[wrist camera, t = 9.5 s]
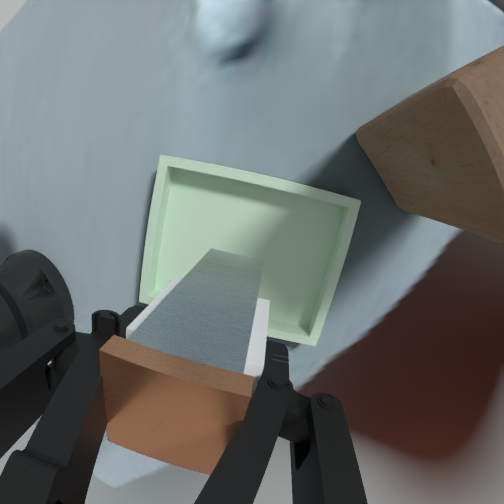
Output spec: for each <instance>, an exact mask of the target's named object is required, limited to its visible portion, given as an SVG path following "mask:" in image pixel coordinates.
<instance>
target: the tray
mask: <svg viewBox="0 0 504 504" xmlns="http://www.w3.org/2000/svg"><path fill="white" fill-rule="evenodd" d="M360 204H361V200H357V199H354V198H350V197H347V196H343V195H340V194H336V193H333V192H329V191H326V190H322V189H318V188H314V187H311V186H307V185H303V184H299V183H295V182H291V181H287V180H283V179H279V178H275V177H270V176H266V175H262V174H257V173H253V172H248V171H244V170H239V169H235V168H230V167H225V166H220V165H215V164H210V163H205V162H200V161H194V160H189V159H183V158H177V157H172V156H166V155H160V159H159V164H158V169H157V174H156V179H155V185H154V190H153V196H152V202H151V208H150V214H149V220H148V227H147V234H146V241H145V249H144V257H143V265H142V274H141V284H140V295H139V302H142V303H145V304H148V305H149V304H150V303H151V302H152V301H153V300H154V299H155V298H156V297H157V296H158V295H159V294H160V293H161V292H162V291H163V290H164V289H165V288H166V287H167V286H168V285H169V284H170V283H171V282H172V281H173V280H174V279H175V278H176V277H179V278H184V276H185V275H186V274H187V273H188V272H189V271H190V270H191V269H192V268H193V267H194V266H195V265H196V264H197V263H198V262H199V261H200V260H201V258H202V257H203V256H204V255H205V254H206V253H207V252H208V251H209V250H210V249H211V248H213V249H217V250H221V251H225V252H229V253H233V254H237V255H241V256H246V257H250V258H254V259H258V260H262V261H264V266H263V272H262V277H261V283H260V288H259V294H258V298H261V299H266V300H270V305H269V317H268V328H267V336H269V337H273V338H278V339H282V340H287V341H292V342H296V343H301V344H306V345H311V346H316V344H317V341H318V339H319V336H320V333H321V330H322V328H323V325H324V322H325V319H326V316H327V313H328V311H329V308H330V305H331V302H332V299H333V296H334V293H335V290H336V287H337V284H338V281H339V277H340V274H341V271H342V268H343V265H344V261H345V258H346V255H347V251H348V248H349V245H350V241H351V238H352V234H353V231H354V227H355V223H356V220H357V216H358V212H359V208H360Z"/></svg>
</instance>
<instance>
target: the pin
mask: <svg viewBox="0 0 504 504" xmlns="http://www.w3.org/2000/svg"><path fill="white" fill-rule="evenodd" d="M263 266H264V261H262V260H258V259H254V258H250V257H246V256H241V255H237V254H233V253H229V252H225V251H221V250H217V249H213V248H211V249H210V250H209V251H208V252H207V253H206V254H205V255H204V256H203V257H202V258H201V260H200V261H199V262H198V263H197V264H196V265H195V266H194V267H193V268H192V269H191V270H190V271H189V272H188V273H187V274H186V275H185V276H184V278H183V279H182V280H181V281H180V282H179V283H178V284H177V285H176V286H175V287H174V288H173V289H172V290H171V292H170V293H169V294H168V295H167V296H166V297H165V298H164V299H163V300H162V301H161V302H160V303H159V305H158V306H157V307H156V308H155V309H154V310H153V311H152V312H151V313H150V314H149V315H148V317H147V318H146V319H145V320H144V321H143V322H142V323H141V324H140V325H139V326H138V328H137V329H136V330H135V331H134V332H133V333H132V334H131V335H130V337H129V338H128V339H124V338H122V337H119V336H116V335H113V336H112V337H111V338H110V339H109V340H108V341H107V342H106V343H105V344H104V345H103V346H102V347H101V348H100V349H99V359H100V376H102V377H103V388H104V399H105V409H106V418H107V426H106V431H107V438H108V441H110V442H113V443H115V444H117V445H120V446H122V447H125V448H127V449H130V450H132V451H135V452H137V453H140V454H143V455H146V456H148V457H151V458H154V459H157V460H160V461H163V462H166V463H169V464H172V465H176V466H179V467H183V468H186V469H190V470H193V471H197V472H201V473H205V474H209V475H211V473H212V472H213V470H214V468H215V466H216V465H217V463H218V461H219V459H220V457H221V455H222V454H223V452H224V450H225V448H226V446H227V444H228V443H229V441H230V439H231V437H232V435H233V433H234V431H235V429H236V427H237V425H238V424H239V422H240V421H243V420H244V417H245V414H246V411H247V408H248V404H249V401H250V398H251V393H252V386H253V379H254V376H251V375H246V374H244V369H245V363H246V358H247V353H248V348H249V342H250V337H251V332H252V326H253V321H254V316H255V310H256V305H257V299H258V294H259V288H260V283H261V277H262V272H263Z"/></svg>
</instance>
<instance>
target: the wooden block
mask: <svg viewBox="0 0 504 504" xmlns="http://www.w3.org/2000/svg"><path fill="white" fill-rule="evenodd" d="M356 138H357V141H358V143H359V144H360V146H361V147H362V149H363V150H364V152H365V153H366V155H367V157H368V158H369V160H370V161H371V163H372V164H373V166H374V167H375V169H376V171H377V172H378V174H379V176H380V177H381V179H382V181H383V182H384V184H385V186H386V187H387V189H388V191H389V192H390V194H391V196H392V198H393V199H394V201H395V203H396V205H397V206H398V207H399V208H400V209H402V210H403V211H407V212H410V213H414V214H417V215H420V216H423V217H427V218H430V219H433V220H436V221H439V222H442V223H445V224H448V225H451V226H454V227H457V228H460V229H463V230H466V231H469V232H472V233H475V234H478V235H480V236H483V237H486V238H488V239H491V240H494V241H497V242H499V243H502V244H504V46H502V47H500V48H498V49H496V50H494V51H492V52H490V53H488V54H486V55H484V56H482V57H480V58H478V59H477V60H475V61H473V62H471V63H469V64H467V65H465V66H463V67H461V68H459V69H458V70H456V71H454V72H452V73H450V74H448V75H447V76H445V77H443V78H441V79H439V80H437V81H436V82H434V83H432V84H430V85H428V86H427V87H425V88H423V89H421V90H420V91H418V92H416V93H414V94H413V95H411V96H409V97H408V98H406V99H404V100H403V101H401V102H400V103H398V104H396V105H395V106H393V107H391V108H390V109H388V110H387V111H385V112H383V113H382V114H380V115H379V116H377V117H375V118H374V119H372V120H371V121H369V122H368V123H366V124H364V125H363V126H361V127H360V128H359V129H358V130H357V132H356Z"/></svg>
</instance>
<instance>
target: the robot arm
mask: <svg viewBox="0 0 504 504" xmlns="http://www.w3.org/2000/svg"><path fill="white" fill-rule="evenodd" d="M182 279H183V278H179V277H176V278H175V279H174V280H173V281H172V282H171V283H170V284H169V285H168V286H167V287H166V288H165V289H164V290H163V291H162V292H161V293H160V294H159V295H158V296H157V297H156V298H155V299H154V300H153V301H152V302H151V303H150V304H149V305H148V306H147V307H146V308H143V307H140V306H133V307H130V308H128V309H127V310H126V311H125V312H124V313H123V314H121V315H119V314H118V313H116V312H113V311H110V310H99V311H96V312H94V313H93V314H92V332H91V334H86V333H81V332H75V325H74V324H73V322H74V311H73V304H72V300H71V296H70V293H69V290H68V288H67V286H66V283H65V281H64V279H63V278H62V276H61V274H60V273H59V271H58V270H57V268H56V267H55V266H54V265H53V263H52V262H51V261H50V260H49V259H48V258H46V257H45V256H44V255H42V254H41V253H39V252H37V251H34V250H23V251H20V252H17V253H15V254H13V255H11V256H9V257H8V258H7V259H6V261H5V262H4V263H3V264H2V265H1V266H0V459H1V457H2V456H3V455H4V454H5V453H6V452H7V451H8V450H9V449H10V448H11V447H12V446H13V445H14V444H15V442H16V441H17V440H18V439H19V438H20V437H21V436H22V435H23V434H24V433H25V432H26V431H27V430H28V429H29V428H30V427H31V426H32V425H33V424H34V423H35V421H36V420H37V419H38V418H39V417H40V416H41V415H42V414H43V415H42V416H41V418H40V420H39V422H38V424H37V426H36V428H35V430H34V432H33V434H32V436H31V438H30V440H29V442H28V444H27V446H26V448H25V449H24V450H23V451H20V450H15V451H14V452H12V454H11V455H10V457H9V459H8V461H7V463H6V465H5V467H4V469H3V472H2V474H1V476H0V504H84V503H85V499H86V495H87V491H88V487H89V483H90V480H91V476H92V473H93V469H94V466H95V462H96V459H97V455H98V452H99V449H100V445H101V442H102V439H103V436H104V433H105V429H106V426H107V418H106V409H105V399H104V388H103V377H102V376H100V359H99V349H100V348H101V347H102V346H103V345H104V344H105V343H106V342H107V341H108V340H109V339H110V338H111V337H112V336H113V335H116V336H119V337H122V338H124V339H128V338H129V337H130V335H131V334H132V333H133V332H134V331H135V330H136V329H137V328H138V326H139V325H140V324H141V323H142V322H143V321H144V320H145V319H146V318H147V317H148V315H149V314H150V313H151V312H152V311H153V310H154V309H155V308H156V307H157V306H158V305H159V303H160V302H161V301H162V300H163V299H164V298H165V297H166V296H167V295H168V294H169V293H170V292H171V290H172V289H173V288H174V287H175V286H176V285H177V284H178V283H179V282H180V281H181V280H182ZM269 305H270V300H266V299H261V298H258V299H257V305H256V310H255V316H254V321H253V326H252V332H251V337H250V342H249V348H248V353H247V358H246V363H245V369H244V374H246V375H251V376H254V379H253V386H252V393H251V398H250V401H249V404H248V408H247V411H246V414H245V417H244V420H243V421H240V422H239V424H238V425H237V427H236V429H235V431H234V433H233V435H232V437H231V439H230V441H229V443H228V444H227V446H226V448H225V450H224V452H223V454H222V455H221V457H220V459H219V461H218V463H217V465H216V466H215V468H214V470H213V472H212V473H211V475H210V477H209V479H208V481H207V482H206V484H205V486H204V488H203V489H202V491H201V493H200V494H199V496H198V498H197V499H196V501H195V503H194V504H253V502H254V499H255V496H256V494H257V492H258V489H259V486H260V484H261V481H262V478H263V476H264V473H265V471H266V468H267V465H268V462H269V460H270V457H271V454H272V451H273V448H274V445H275V442H276V440H277V437H278V436H279V437H282V438H284V439H287V440H289V441H290V453H291V474H292V494H293V504H367V499H366V495H365V491H364V487H363V483H362V478H361V474H360V470H359V466H358V463H357V458H356V455H355V451H354V447H353V443H352V439H351V436H350V432H349V428H348V424H347V421H346V417H345V414H344V410H343V406H342V404H341V402H340V400H338V399H337V398H336V397H335V396H333V395H331V394H328V393H316V394H314V395H313V396H312V397H311V398H309V397H306V396H304V395H302V394H300V393H298V392H296V391H295V390H294V389H293V384H292V383H291V381H290V380H289V363H288V362H289V359H288V349H287V348H286V346H285V345H284V344H281V343H276V342H272V341H267V340H266V339H267V328H268V317H269ZM49 361H52V363H51V364H50V365H47V364H48V363H49Z"/></svg>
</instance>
